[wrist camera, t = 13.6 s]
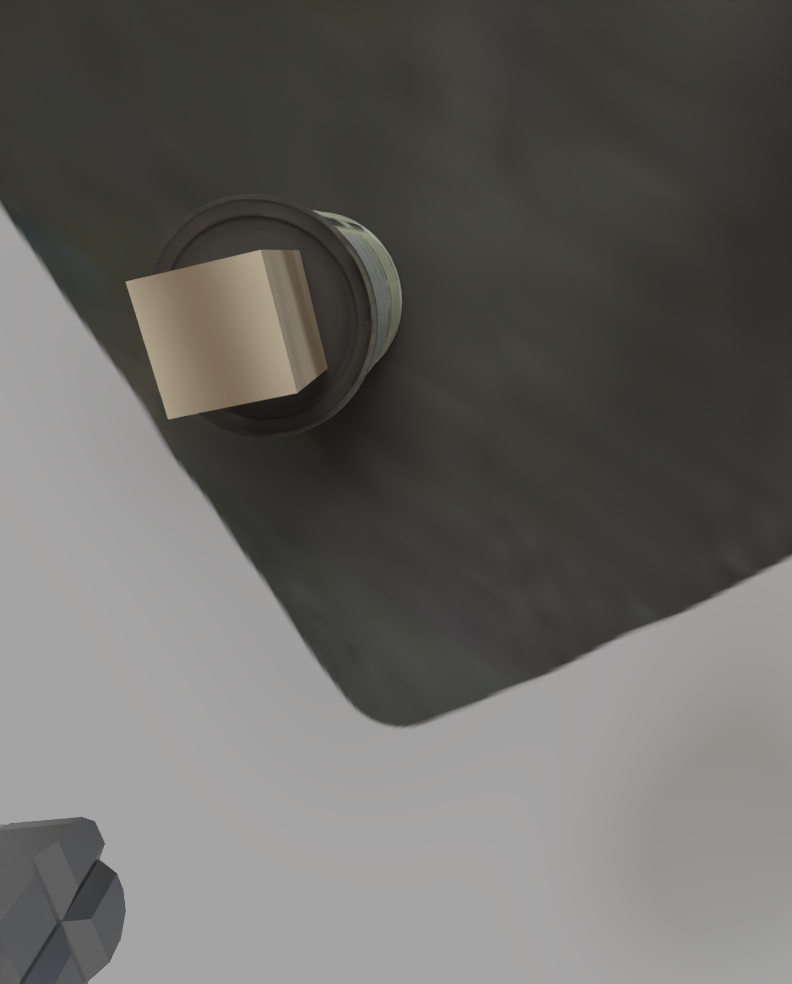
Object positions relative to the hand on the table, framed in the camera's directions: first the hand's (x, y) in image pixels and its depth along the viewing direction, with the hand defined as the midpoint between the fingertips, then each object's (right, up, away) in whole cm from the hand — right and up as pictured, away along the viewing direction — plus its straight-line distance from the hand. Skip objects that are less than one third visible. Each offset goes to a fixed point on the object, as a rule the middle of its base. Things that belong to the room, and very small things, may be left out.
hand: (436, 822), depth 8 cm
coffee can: (-5, +15, +37) cm, 40 cm away
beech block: (-6, +11, +24) cm, 27 cm away
